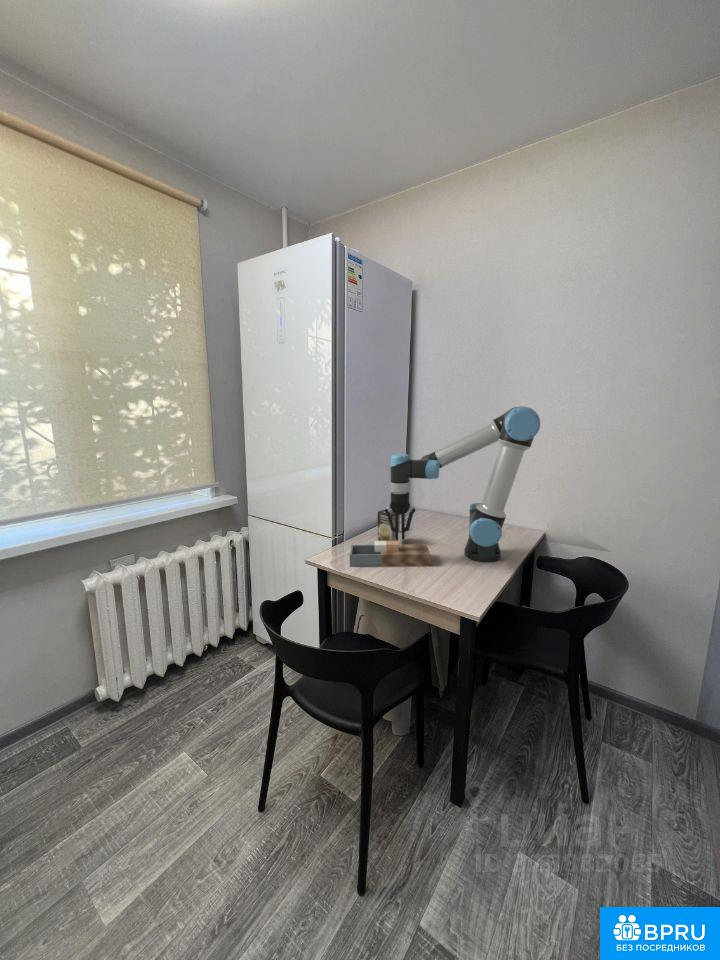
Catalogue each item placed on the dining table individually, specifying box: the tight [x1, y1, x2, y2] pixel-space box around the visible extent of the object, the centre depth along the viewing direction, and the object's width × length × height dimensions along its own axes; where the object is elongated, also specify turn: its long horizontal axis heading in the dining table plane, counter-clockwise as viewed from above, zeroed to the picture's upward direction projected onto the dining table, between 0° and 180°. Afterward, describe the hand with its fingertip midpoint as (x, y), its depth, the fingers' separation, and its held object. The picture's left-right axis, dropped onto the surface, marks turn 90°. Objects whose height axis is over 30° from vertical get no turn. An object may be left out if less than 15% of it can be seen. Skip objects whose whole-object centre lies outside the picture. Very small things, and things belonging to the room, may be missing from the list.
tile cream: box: [373, 540, 387, 552], centre depth 162 cm, size 5×5×3 cm
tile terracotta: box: [386, 541, 399, 552], centre depth 162 cm, size 5×5×3 cm
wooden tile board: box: [381, 543, 432, 567], centre depth 163 cm, size 20×12×5 cm, turn 88°
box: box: [349, 544, 381, 568], centre depth 164 cm, size 13×12×5 cm
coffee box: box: [377, 508, 401, 541], centre depth 182 cm, size 9×6×16 cm
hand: (399, 546), depth 162 cm, fingers closed
